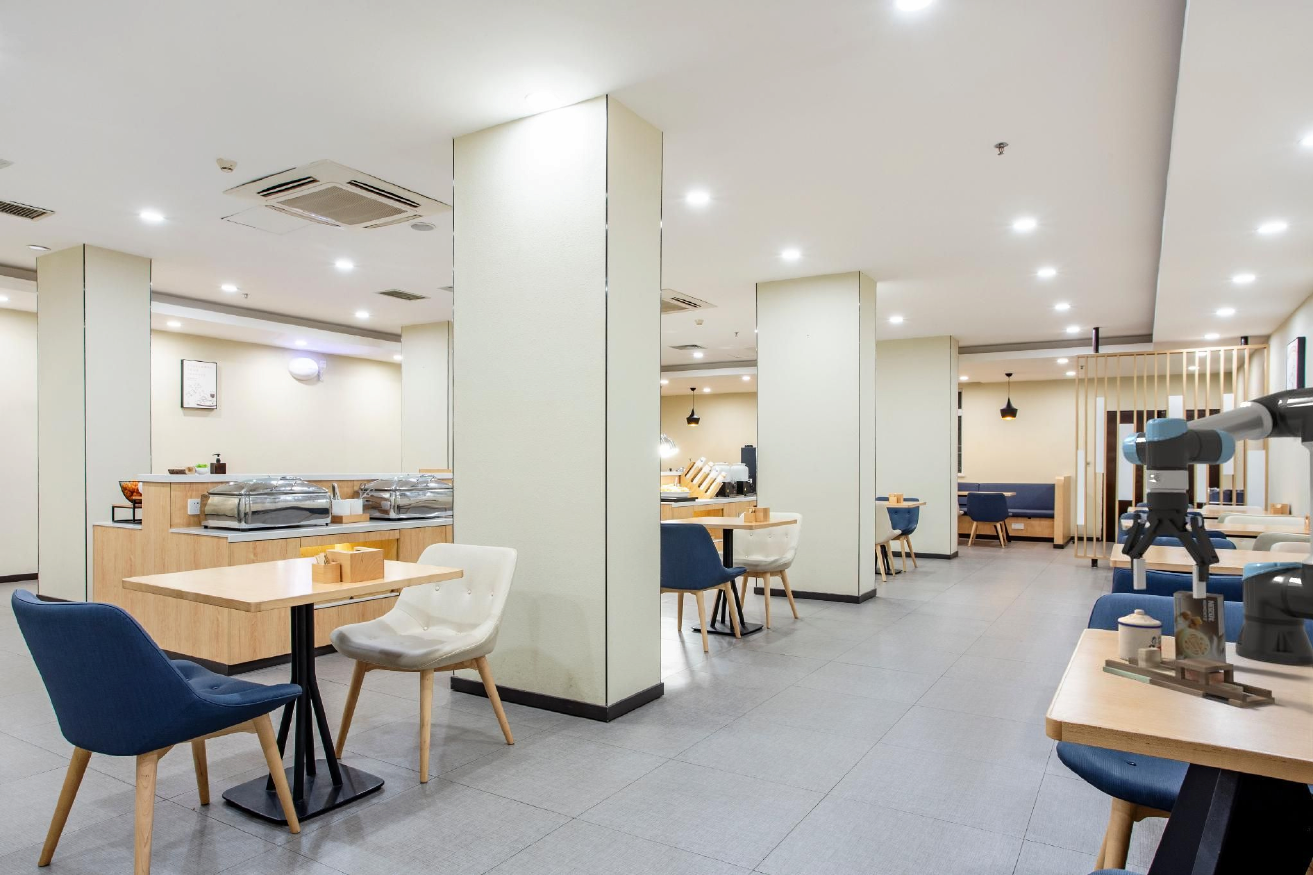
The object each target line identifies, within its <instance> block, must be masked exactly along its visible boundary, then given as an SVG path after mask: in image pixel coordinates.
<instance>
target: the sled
mask: <svg viewBox="0 0 1313 875" xmlns="http://www.w3.org/2000/svg"><path fill="white" fill-rule="evenodd" d="M1160 664H1161V662H1160V649H1157V648H1143V649H1138V667H1141V668H1145V669H1149V670H1153V671H1157V672H1161V673H1165V674H1169V675H1173V676H1175V671H1174V670H1170V669H1166V668H1162V667H1160ZM1185 679H1190V680H1194V681H1198V682H1199V671H1196V670H1192V669H1188V668H1185ZM1209 684H1210V685H1214V686H1218V687H1222V688H1226V689H1230V690H1234V691H1238V692H1242V693H1243V687H1240V686H1236V685H1232V684H1228V683H1224V672H1223V671H1214V672H1209Z"/></svg>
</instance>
